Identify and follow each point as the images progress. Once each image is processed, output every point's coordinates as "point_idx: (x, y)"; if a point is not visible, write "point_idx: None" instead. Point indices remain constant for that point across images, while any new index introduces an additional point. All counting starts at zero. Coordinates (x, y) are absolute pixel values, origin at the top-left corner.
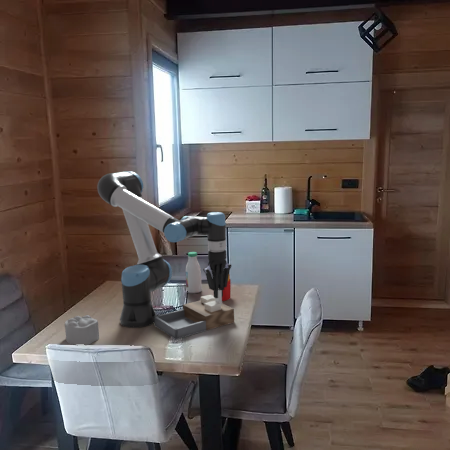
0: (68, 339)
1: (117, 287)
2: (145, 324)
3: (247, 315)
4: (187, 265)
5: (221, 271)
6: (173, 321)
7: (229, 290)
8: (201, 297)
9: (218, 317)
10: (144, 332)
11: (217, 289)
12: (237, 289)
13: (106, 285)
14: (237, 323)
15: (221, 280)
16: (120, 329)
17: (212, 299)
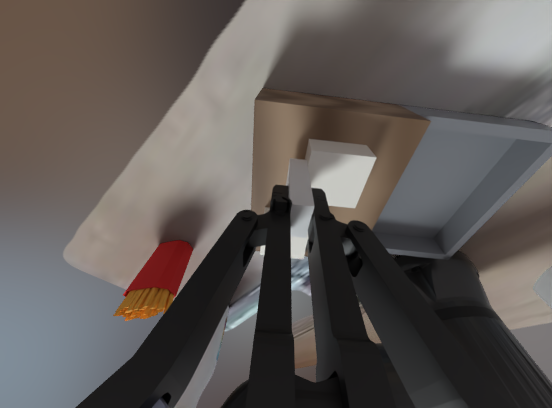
0: None
1: (303, 358)
2: None
3: (177, 107)
4: (208, 381)
5: (293, 381)
6: (399, 223)
7: (151, 262)
8: (304, 254)
9: (347, 106)
10: (489, 225)
11: (325, 215)
12: (118, 267)
13: (308, 365)
14: (260, 65)
15: (284, 263)
16: (486, 267)
17: None
